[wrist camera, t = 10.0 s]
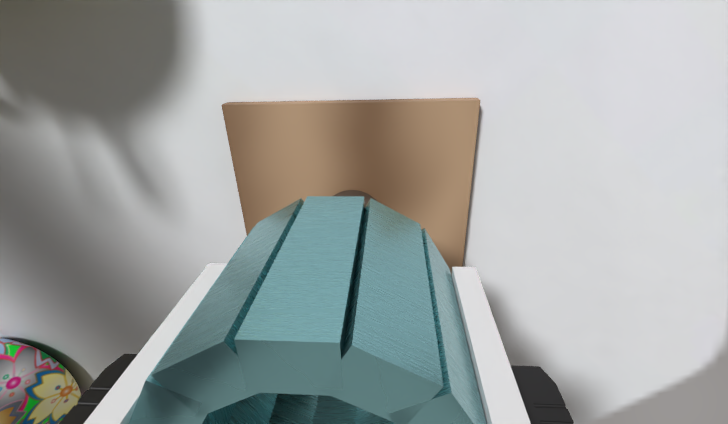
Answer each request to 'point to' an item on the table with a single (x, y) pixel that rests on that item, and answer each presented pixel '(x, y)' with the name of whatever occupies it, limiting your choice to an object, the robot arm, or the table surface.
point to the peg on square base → (360, 158)
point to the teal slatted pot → (322, 328)
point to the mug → (33, 386)
